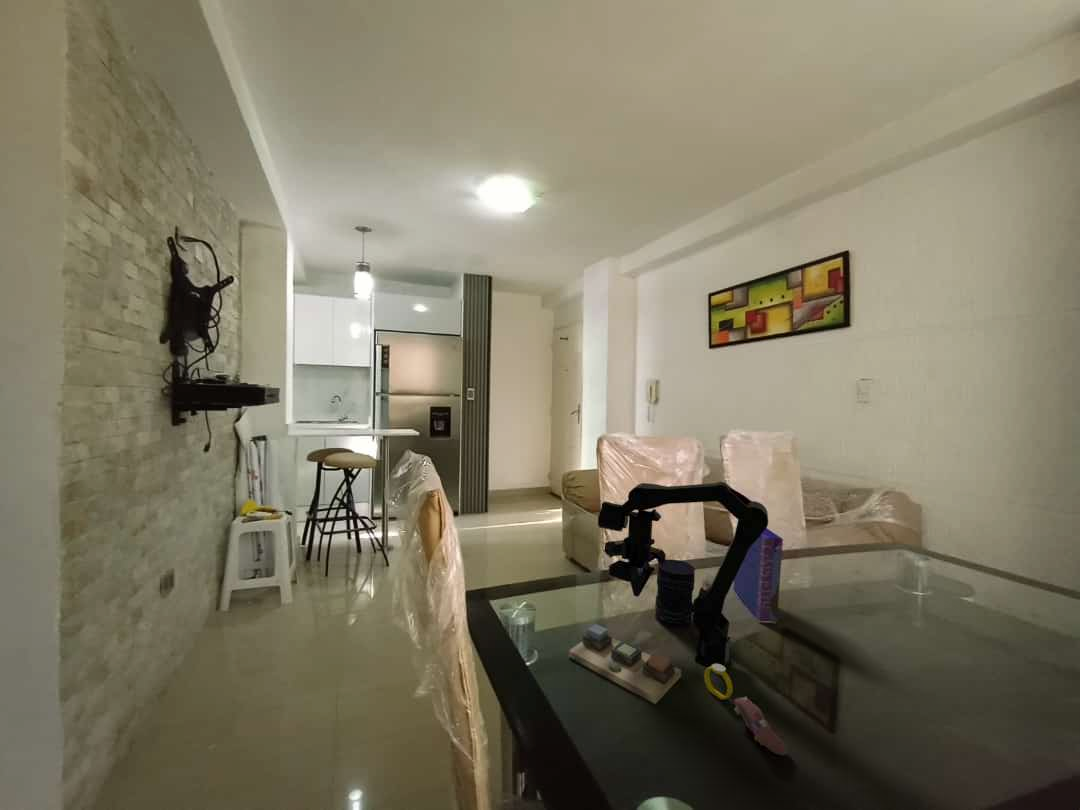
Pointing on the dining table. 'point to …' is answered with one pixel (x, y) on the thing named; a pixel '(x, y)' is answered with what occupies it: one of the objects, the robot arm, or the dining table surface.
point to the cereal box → (761, 577)
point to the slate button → (597, 632)
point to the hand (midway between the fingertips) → (636, 595)
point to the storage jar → (674, 594)
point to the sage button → (626, 650)
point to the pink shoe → (759, 726)
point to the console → (625, 667)
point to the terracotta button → (659, 662)
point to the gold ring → (722, 670)
